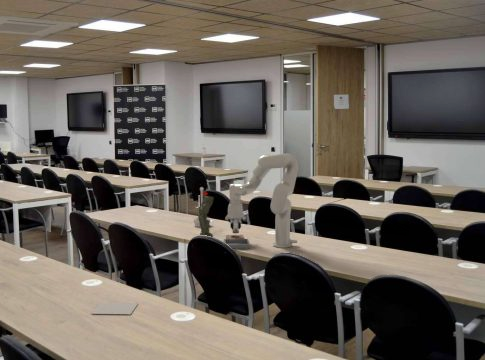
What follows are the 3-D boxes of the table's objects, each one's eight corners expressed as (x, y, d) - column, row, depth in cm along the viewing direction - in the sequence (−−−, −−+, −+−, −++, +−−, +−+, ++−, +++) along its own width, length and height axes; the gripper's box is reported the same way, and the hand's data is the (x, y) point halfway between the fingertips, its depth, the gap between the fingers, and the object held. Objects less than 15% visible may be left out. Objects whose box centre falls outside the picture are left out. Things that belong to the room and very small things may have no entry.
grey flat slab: (124, 324, 210) (124, 322, 210) (63, 323, 211) (63, 321, 211) (138, 304, 233) (138, 302, 233) (83, 303, 234) (83, 301, 234)
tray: (247, 243, 347) (247, 238, 346) (249, 249, 331) (249, 244, 330) (223, 243, 346) (223, 239, 345) (224, 249, 330) (224, 244, 329)
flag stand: (196, 227, 396) (195, 188, 392) (191, 224, 408) (191, 186, 404) (212, 226, 400) (212, 187, 397) (207, 223, 412) (207, 185, 409)
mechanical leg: (200, 239, 355) (206, 195, 357) (192, 237, 359) (198, 194, 361) (213, 240, 366) (219, 197, 368) (205, 238, 370) (211, 196, 372)
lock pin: (238, 231, 356) (238, 220, 356) (239, 233, 352) (239, 221, 351) (232, 232, 356) (232, 220, 355) (232, 233, 352) (232, 221, 351)
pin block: (243, 238, 361) (243, 234, 361) (244, 242, 349) (244, 238, 349) (226, 238, 361) (226, 234, 360) (226, 242, 349) (226, 238, 348)
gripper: (247, 201, 356) (247, 227, 358) (222, 201, 355) (223, 228, 357) (248, 202, 349) (248, 229, 351) (222, 203, 348) (223, 230, 350)
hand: (235, 228), depth 354 cm, fingers closed on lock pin, 4 cm apart
